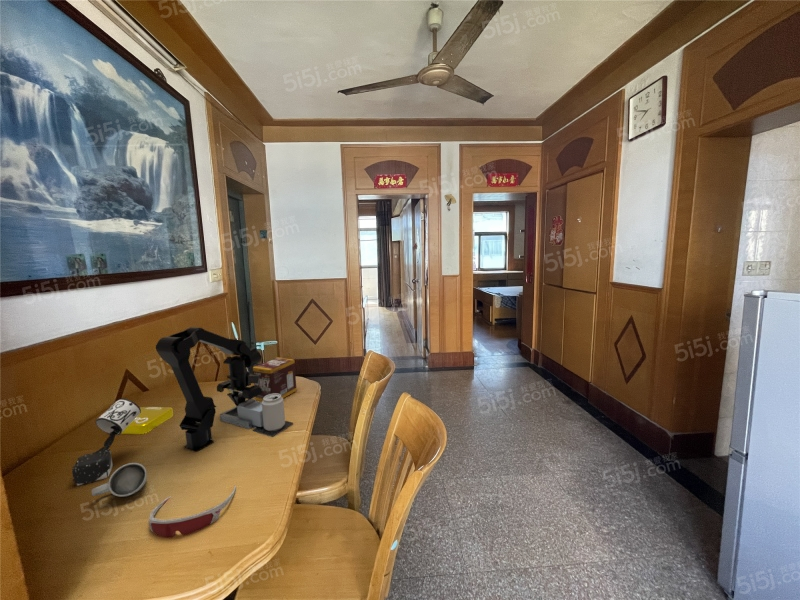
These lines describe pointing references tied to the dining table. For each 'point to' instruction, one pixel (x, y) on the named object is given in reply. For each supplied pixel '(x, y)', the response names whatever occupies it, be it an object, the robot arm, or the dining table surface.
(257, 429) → the base
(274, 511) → the dining table surface
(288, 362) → the supplement box
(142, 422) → the element tile
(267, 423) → the can
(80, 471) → the table lamp
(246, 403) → the grey stepped machine block
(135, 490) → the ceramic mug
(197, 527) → the sunglasses
